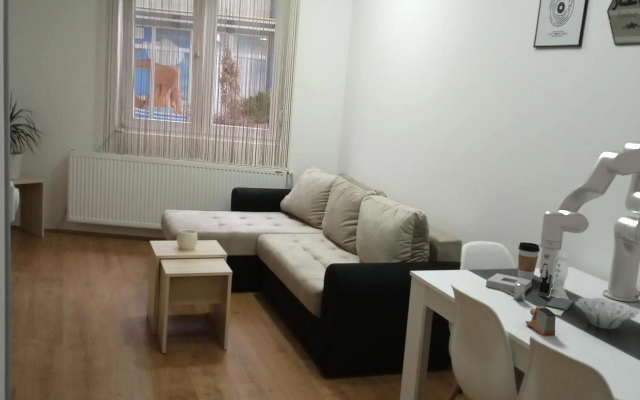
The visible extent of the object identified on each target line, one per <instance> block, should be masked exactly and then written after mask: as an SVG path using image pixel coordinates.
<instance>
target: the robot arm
mask: <svg viewBox="0 0 640 400" xmlns="http://www.w3.org/2000/svg"><path fill="white" fill-rule="evenodd" d="M630 175H631V177H630V178H631V179H630V183H629V185H628V186H629V187H628V188H627V192H626V193H627V194H626V197H625V202H624V206H625V207H624V208H625V209H626V210H627V211H628V212H630V213H633V214H635V215H639V217H636V216H630V215H625V216H622V217H619V218H618V219H617V220H616V221H615V223H614V226H613V250H612V258H611V265H610V271H609V278H608V285H607V289H604V290H603V291H602V295H603V296H604V297H605V298H608V299H611V300H615V301H620V302H627V303H636V302H639V301H640V290H639V289H638V286H637V285H638V278H639V271H640V141H629V142H627V143H626V144H625V145H624V146H623V148H622V151H616V150H607V151H604V152H602V153H601V154H600V155H599V156H598V158H597V159H596V161H595V162H594V164H593V167H592V168H591V169H590V171H589V173H588V174H587V175H586V177H585V179H584V181H582V183H581V184H580V185H578V187H576V188H575V189H574V190H572V191H571V192H570V193H569V194H568V195H567V196H566V197H565V198H564V199H563V200H562V202H561V204H560V206H559V207H558V208H557V211H556V210H546V211H545V212H544V214H543V220H542V225H541V227H542V228H541V235H540V244H539V248H541V249H542V250H541V256H540V263H539V271H538V272H539V274H540V275H541V274H542V275H541V281H540V280H539V281H540V288H539V287H538V290H539V292H542V293H548V291H549V277H550V275H551V276H553V275H554V276H555V274H556V273H555V269H556V265H557V262H558V263H559V257H560V250H561V251H562V246H563V245H562V244H563V239H564V238H563V236H564V232H567V233H572V234H581V233H583V232H585V231H586V230H587V229H588V228H589V224H590V223H589V220H588V218H587V217H586V216H585V215H584V214H582V213H579V212H578V211H579V210H580V209H581V208H582V207H583V206H584V205H585V204H587V203H588V202H590V201H593V200H597V199H598V198H601V197H604V195H606V193H607V191H608V190H609V188H610V186H611V185H612V183H613V181H614V180H615V178H616V177H617V176H630ZM546 273H547V274H548V275H547V274H546ZM546 276H548V277H546ZM554 276H553V277H554Z"/></svg>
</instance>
